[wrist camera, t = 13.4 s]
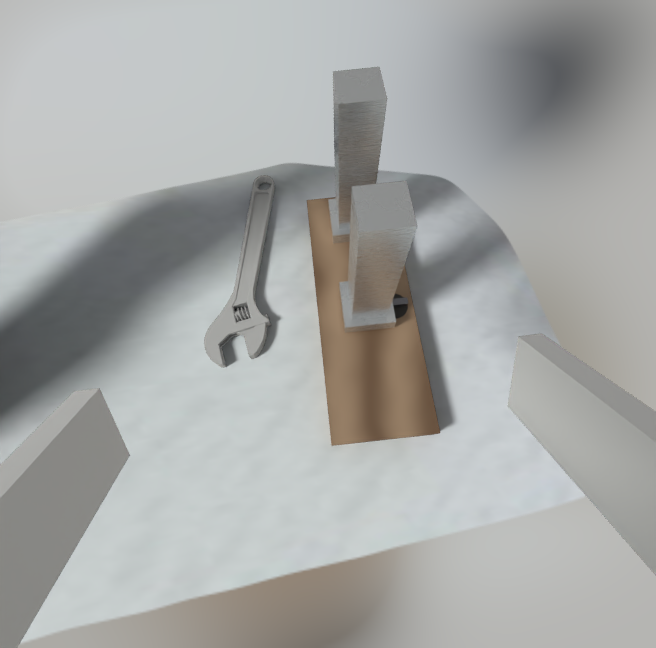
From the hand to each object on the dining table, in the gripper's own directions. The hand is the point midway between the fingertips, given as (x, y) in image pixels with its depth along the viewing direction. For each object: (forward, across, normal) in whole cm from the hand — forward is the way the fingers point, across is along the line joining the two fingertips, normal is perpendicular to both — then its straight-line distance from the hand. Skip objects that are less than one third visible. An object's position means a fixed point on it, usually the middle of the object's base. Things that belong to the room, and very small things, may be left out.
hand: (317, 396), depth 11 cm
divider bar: (+26, +6, -8) cm, 28 cm away
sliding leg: (+24, +6, -7) cm, 26 cm away
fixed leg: (+32, +7, 0) cm, 32 cm away
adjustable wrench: (+32, -6, -4) cm, 33 cm away
